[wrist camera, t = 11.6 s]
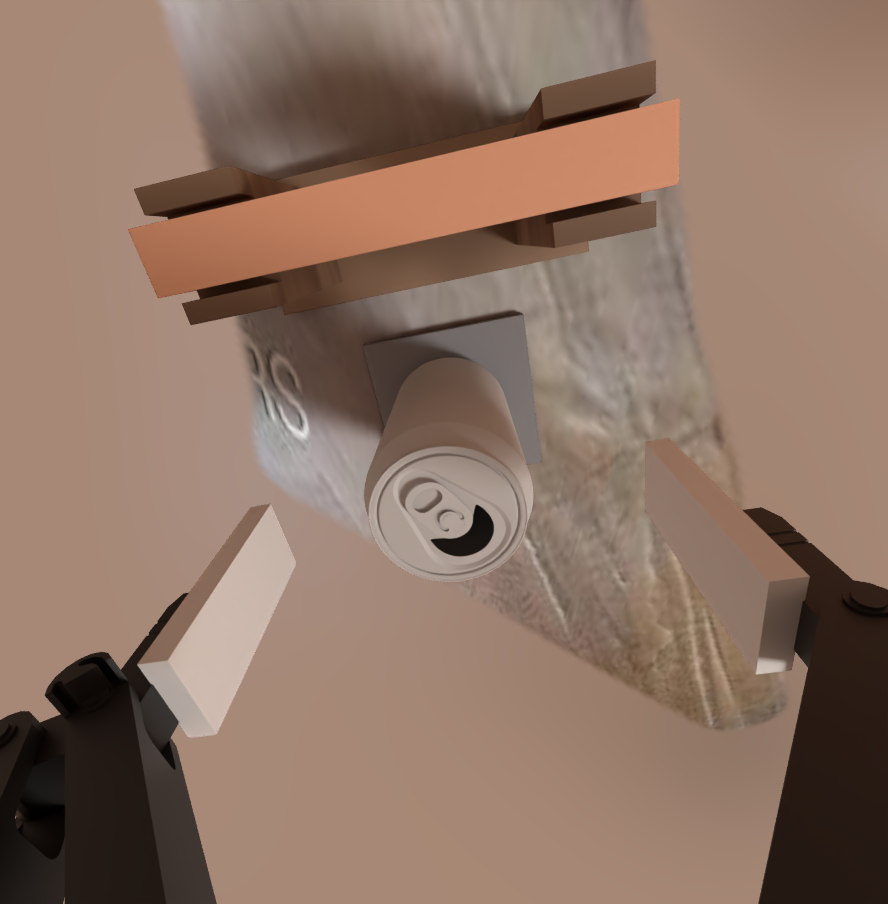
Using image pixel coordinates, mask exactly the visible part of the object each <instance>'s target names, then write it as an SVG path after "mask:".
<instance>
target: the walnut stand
mask: <svg viewBox="0 0 888 904" xmlns="http://www.w3.org/2000/svg"><path fill="white" fill-rule="evenodd" d="M654 93H656V60H655V61H651V62H646V63H642V64H638V65H634V66H630V67H626V68H622V69H618V70H614V71H610V72H606V73H602V74H598V75H594V76H590V77H586V78H582V79H578V80H574V81H570V82H565V83H561V84H557V85H553V86H549V87H545V88H541V90H540V91H539V93H538V95H537V96H536V98H535V100H534V102H533V103H532V105H531V107H530V109H529V110H528V112H527V114H526V116H525V117H524V119H523V121H519V122H515V123H511V124H507V125H502V126H498V127H494V128H490V129H486V130H482V131H478V132H473V133H469V134H465V135H461V136H457V137H453V138H448V139H444V140H440V141H436V142H432V143H428V144H424V145H419V146H415V147H411V148H407V149H403V150H399V151H394V152H390V153H386V154H382V155H378V156H374V157H370V158H365V159H361V160H357V161H353V162H349V163H345V164H340V165H336V166H332V167H328V168H324V169H320V170H316V171H311V172H307V173H303V174H299V175H295V176H291V177H286V178H282V179H278V180H271V179H268V178H265V177H262V176H259V175H256V174H253V173H250V172H247V171H244V170H241V169H238V168H234V167H231V166H225V167H221V168H217V169H213V170H209V171H205V172H201V173H197V174H193V175H189V176H185V177H181V178H177V179H172V180H169V181H164V182H160V183H156V184H152V185H149V186H144V187H140V188H136V189H134V191H135V193H136V195H137V198H138V200H139V202H140V205H141V207H142V209H143V212H144V215H149V216H162V217H168V220H170V219H174V218H178V217H182V216H187V215H191V214H195V213H199V212H204V211H208V210H212V209H216V208H220V207H225V206H229V205H233V204H237V203H241V202H246V201H250V200H254V199H258V198H262V197H267V196H271V195H275V194H279V193H284V192H288V191H292V190H296V189H300V188H305V187H309V186H313V185H317V184H321V183H326V182H330V181H334V180H338V179H342V178H347V177H351V176H355V175H359V174H364V173H368V172H372V171H376V170H380V169H385V168H389V167H393V166H397V165H401V164H406V163H410V162H414V161H418V160H422V159H427V158H431V157H435V156H439V155H444V154H448V153H452V152H456V151H460V150H465V149H469V148H473V147H477V146H481V145H486V144H490V143H494V142H498V141H502V140H507V139H511V138H515V137H519V136H523V135H528V134H532V133H536V132H540V131H545V130H549V129H553V128H557V127H561V126H566V125H570V124H574V123H578V122H582V121H587V120H591V119H595V118H599V117H603V116H608V115H612V114H616V113H620V112H625V111H629V110H633V109H637V108H639V104H641V103H642V102H643V101H645V100H646V99H648V98H649V97H650V96H652V95H653V94H654ZM653 227H656V201H651V202H646V203H641V193H638V194H633V195H629V196H624V197H619V198H615V199H610V200H606V201H601V202H597V203H592V204H588V205H583V206H578V207H574V208H569V209H565V210H560V211H556V212H551V213H546V214H542V215H537V216H533V217H528V218H524V219H519V220H515V221H510V222H505V223H501V224H496V225H492V226H487V227H483V228H478V229H474V230H469V231H464V232H460V233H455V234H451V235H446V236H442V237H437V238H433V239H428V240H423V241H419V242H414V243H410V244H405V245H401V246H396V247H392V248H387V249H382V250H378V251H373V252H369V253H364V254H360V255H355V256H350V257H346V258H341V259H337V260H332V261H328V262H323V263H319V264H314V265H309V266H305V267H300V268H296V269H291V270H287V271H282V272H278V273H273V274H268V275H264V276H259V277H255V278H250V279H246V280H241V281H237V282H232V283H227V284H223V285H218V286H214V287H209V288H205V289H200V290H197V292H198V295H199V297H200V299H199V300H195V301H190V302H186V303H182V305H183V307H184V310H185V312H186V315H187V317H188V320H189V322H190V324H191V325H194V324H199V323H203V322H208V321H212V320H218V319H222V318H227V317H232V316H237V315H241V314H246V313H251V312H256V311H260V310H265V309H270V308H274V307H278V306H281V305H282V308H283V311H284V314H285V315H287V314H292V313H297V312H301V311H306V310H311V309H316V308H320V307H325V306H330V305H335V304H340V303H344V302H349V301H354V300H359V299H363V298H368V297H373V296H378V295H383V294H387V293H392V292H397V291H402V290H406V289H411V288H416V287H421V286H426V285H430V284H435V283H440V282H445V281H449V280H454V279H459V278H464V277H469V276H473V275H478V274H483V273H488V272H492V271H497V270H502V269H507V268H512V267H516V266H521V265H526V264H531V263H536V262H540V261H545V260H550V259H555V258H559V257H564V256H569V255H574V254H579V253H583V252H588V251H589V246H588V241H591V240H596V239H601V238H605V237H610V236H615V235H620V234H624V233H629V232H634V231H639V230H643V229H648V228H653Z"/></svg>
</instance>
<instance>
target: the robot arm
mask: <svg viewBox="0 0 888 904" xmlns="http://www.w3.org/2000/svg"><path fill="white" fill-rule="evenodd" d="M645 511H646V513H647V514H648V516H649V517H650V519H651V520H652V522H653V523H654V524H655V526H656V527H657V529H658V530H659V532H660V533H661V535H662V536H663V538H664V539H665V541H666V542H667V544H668V545H669V547H670V548H671V550H672V551H673V553H674V554H675V556H676V557H677V558H678V560H679V561H680V563H681V564H682V566H683V567H684V569H685V570H686V572H687V573H688V575H689V576H690V578H691V579H692V581H693V582H694V584H695V585H696V587H697V588H698V590H699V591H700V593H701V594H702V595H703V597H704V598H705V600H706V601H707V603H708V604H709V606H710V607H711V609H712V610H713V612H714V613H715V615H716V616H717V618H718V619H719V621H720V622H721V624H722V625H723V627H724V628H725V630H726V631H727V632H728V634H729V635H730V637H731V638H732V640H733V641H734V643H735V644H736V646H737V647H738V649H739V650H740V652H741V653H742V655H743V656H744V658H745V659H746V661H747V662H748V664H749V665H750V666H751V668H752V669H753V671H754V672H755V674H763V673H772V672H781V671H790V670H792V666H793V661H794V655H795V652H796V653H797V654H798V655H799V657H800V658H801V659H802V660H803V662H804V663H805V664H806V665H807V667H808V672H807V676H806V681H805V686H804V690H803V695H802V700H801V705H800V709H799V714H798V719H797V724H796V728H795V733H794V738H793V742H792V747H791V752H790V756H789V761H788V766H787V771H786V775H785V780H784V785H783V790H782V794H781V799H780V804H779V809H778V813H777V818H776V823H775V827H774V832H773V837H772V842H771V846H770V851H769V856H768V860H767V865H766V870H765V874H764V879H763V884H762V889H761V894H760V898H759V904H888V590H887V589H885V588H882V587H879V586H876V585H873V584H870V583H866V582H860V581H854V580H852V579H851V578H850V577H849V576H848V575H847V574H845V573H844V572H843V571H842V570H841V569H840V568H839V567H838V566H836V565H835V564H834V563H833V562H832V561H831V560H830V559H829V558H827V557H826V556H825V555H824V554H823V553H822V552H820V551H819V550H818V549H817V548H816V547H815V546H814V545H812V543H808V540H807V539H806V538H805V537H804V536H802V535H801V534H800V533H799V532H798V533H797V532H796V529H795V528H793V527H792V526H791V525H790V524H789V523H788V522H787V521H786V520H784V519H783V518H782V517H780V516H778V515H776V514H774V513H772V512H770V511H768V510H766V509H764V508H754V509H747V510H742V509H741V508H740V507H739V506H737V505H736V504H735V503H734V502H733V501H732V500H731V499H730V498H729V497H728V496H727V495H726V494H725V493H724V492H723V491H722V490H721V489H720V488H719V487H718V486H717V485H716V484H715V483H714V482H713V481H712V480H711V479H710V478H709V477H708V476H707V475H706V474H705V473H704V472H703V471H702V470H701V469H700V468H699V467H698V466H697V465H696V464H695V463H694V462H693V461H692V460H691V459H690V458H689V457H688V456H686V455H685V454H684V453H683V452H682V451H681V450H680V449H679V448H678V447H677V446H676V445H675V444H674V443H673V442H672V441H671V440H670V439H669V438H667V439H661V440H655V441H649V442H645ZM295 565H296V562H295V559H294V557H293V555H292V552H291V550H290V547H289V545H288V543H287V541H286V538H285V536H284V534H283V531H282V529H281V526H280V524H279V522H278V520H277V518H276V515H275V512H274V510H273V508H272V506H271V504H267V505H261V506H255V507H251V508H250V509H249V511H248V512H247V513H246V515H245V516H244V517H243V519H242V520H241V522H240V523H239V524H238V526H237V527H236V529H235V530H234V531H233V533H232V534H231V535H230V537H229V538H228V539H227V541H226V542H225V544H224V545H223V546H222V548H221V549H220V551H219V552H218V554H217V555H216V556H215V557H214V559H213V560H212V562H211V563H210V564H209V566H208V567H207V569H206V570H205V571H204V573H203V574H202V576H201V577H200V578H199V580H198V581H197V582H196V584H195V585H194V586H193V588H192V589H191V591H190V592H189V593H185V594H183V595H181V596H180V597H179V598H178V599H177V600H176V601H175V602H173V603H172V604H171V605H170V606H169V607H168V608H167V609H166V611H165V612H164V613H163V615H162V616H161V617H160V619H159V620H158V623H157V624H155V625H154V627H153V628H152V629H151V631H150V632H149V636H146V637H145V639H144V640H143V641H142V643H141V644H140V645H139V647H138V648H137V649H136V651H135V652H134V653H133V655H132V656H131V657H130V659H129V660H128V661H127V663H126V664H125V665H124V667H123V668H122V669H121V670H120V668H119V667H118V666H117V665H116V663H115V662H114V660H113V659H112V658H111V656H110V655H109V654H108V653H105V652H99V653H94V654H90V655H88V656H85V657H83V658H81V659H79V660H77V661H76V662H74V663H73V664H71V665H70V666H68V667H66V668H65V669H64V670H63V671H62V672H61V673H60V674H58V675H57V676H56V677H55V678H54V680H53V681H52V682H51V684H50V685H49V686H48V688H47V690H46V693H45V696H46V698H48V700H49V701H50V702H51V703H52V704H53V705H54V707H55V708H56V709H57V710H58V711H59V712H60V713H61V715H58V716H56V717H53V718H50V719H48V720H46V721H43V722H40V723H39V721H38V720H37V719H36V718H35V717H34V716H33V715H32V714H31V713H30V712H29V711H26V712H25V711H20V712H18V713H14V714H11V715H9V716H7V717H5V718H3V719H2V720H0V904H63V901H64V897H65V904H217V903H216V899H215V896H214V892H213V888H212V884H211V880H210V876H209V872H208V868H207V864H206V860H205V856H204V853H203V849H202V845H201V841H200V837H199V833H198V829H197V825H196V821H195V817H194V813H193V809H192V805H191V801H190V798H189V794H188V790H187V786H186V783H185V778H184V774H183V771H182V766H181V763H180V758H179V755H178V751H177V747H176V745H175V743H174V742H173V741H172V739H171V736H172V734H173V732H174V730H175V728H176V727H177V725H178V723H179V725H180V726H181V727H182V729H183V730H184V732H185V733H186V735H187V736H188V737H189V738H191V737H200V736H209V735H216V734H217V732H218V730H219V728H220V726H221V724H222V721H223V720H224V717H225V715H226V713H227V711H228V709H229V707H230V705H231V702H232V700H233V698H234V696H235V693H236V691H237V690H238V687H239V685H240V683H241V681H242V679H243V677H244V675H245V672H246V670H247V668H248V666H249V664H250V662H251V659H252V657H253V655H254V653H255V651H256V649H257V647H258V644H259V642H260V640H261V638H262V636H263V634H264V632H265V630H266V627H267V625H268V623H269V621H270V619H271V616H272V614H273V612H274V610H275V608H276V606H277V604H278V601H279V600H280V597H281V595H282V593H283V591H284V589H285V587H286V585H287V582H288V580H289V578H290V576H291V574H292V572H293V570H294V567H295ZM15 816H16V819H15Z"/></svg>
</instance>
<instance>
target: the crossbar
mask: <svg viewBox="0 0 888 904" xmlns="http://www.w3.org/2000/svg"><path fill="white" fill-rule="evenodd" d="M679 115H680V99H675V100H671V101H667V102H662V103H658V104H654V105H650V106H646V107H641V108H637V109H633V110H629V111H625V112H620V113H616V114H612V115H608V116H603V117H599V118H595V119H591V120H587V121H582V122H578V123H574V124H570V125H566V126H561V127H557V128H553V129H549V130H545V131H540V132H536V133H532V134H528V135H523V136H519V137H515V138H511V139H507V140H502V141H498V142H494V143H490V144H486V145H481V146H477V147H473V148H469V149H465V150H460V151H456V152H452V153H448V154H444V155H439V156H435V157H431V158H427V159H422V160H418V161H414V162H410V163H406V164H401V165H397V166H393V167H389V168H385V169H380V170H376V171H372V172H368V173H364V174H359V175H355V176H351V177H347V178H342V179H338V180H334V181H330V182H326V183H321V184H317V185H313V186H309V187H305V188H300V189H296V190H292V191H288V192H284V193H279V194H275V195H271V196H267V197H262V198H258V199H254V200H250V201H246V202H241V203H237V204H233V205H229V206H225V207H220V208H216V209H212V210H208V211H204V212H199V213H195V214H191V215H187V216H182V217H178V218H174V219H170V220H166V221H161V222H157V223H153V224H149V225H145V226H140V227H136V228H132V229H128V230H129V233H130V235H131V237H132V240H133V242H134V244H135V247H136V249H137V251H138V253H139V256H140V258H141V260H142V263H143V265H144V267H145V269H146V272H147V274H148V276H149V279H150V281H151V283H152V286H153V288H154V290H155V292H156V295H157V297H158V298H161V297H167V296H171V295H176V294H182V293H186V292H191V291H195V290H200V289H205V288H209V287H214V286H218V285H223V284H227V283H232V282H237V281H241V280H246V279H250V278H255V277H259V276H264V275H268V274H273V273H278V272H282V271H287V270H291V269H296V268H300V267H305V266H309V265H314V264H319V263H323V262H328V261H332V260H337V259H341V258H346V257H350V256H355V255H360V254H364V253H369V252H373V251H378V250H382V249H387V248H392V247H396V246H401V245H405V244H410V243H414V242H419V241H423V240H428V239H433V238H437V237H442V236H446V235H451V234H455V233H460V232H464V231H469V230H474V229H478V228H483V227H487V226H492V225H496V224H501V223H505V222H510V221H515V220H519V219H524V218H528V217H533V216H537V215H542V214H546V213H551V212H556V211H560V210H565V209H569V208H574V207H578V206H583V205H588V204H592V203H597V202H601V201H606V200H610V199H615V198H619V197H624V196H629V195H633V194H638V193H642V192H647V191H651V190H656V189H660V188H664V187H668V186H672V185H676V184H679Z"/></svg>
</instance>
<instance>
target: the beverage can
mask: <svg viewBox="0 0 888 904" xmlns="http://www.w3.org/2000/svg"><path fill="white" fill-rule="evenodd" d="M364 499H365V506H366V511H367V514H368V517H369V524H370V528H371V532H372V534H373V537H374V539H375V541H376V543H377V545H378V546H379V548H380V549H381V550H382V552H383V553H384V554H385V555H386V556H387V557H388V558H389V559H390V560H391V561H392V562H393V563H394V564H396V565H397V566H399V567H400V568H402V569H403V570H405V571H407V572H409V573H411V574H413V575H416V576H418V577H422V578H425V579H429V580H434V581H442V582H455V581H462V580H468V579H473V578H477V577H480V576H482V575H485V574H487V573H489V572H491V571H493V570H495V569H496V568H498V567H499V566H501V565H502V564H503V563H504V562H506V561H507V560H508V559H509V558H510V557H511V556H512V555H513V553H514V552H515V551H516V550H517V548H518V547H519V545H520V543H521V541H522V539H523V537H524V534H525V531H526V528H527V522H528V520H529V517H530V514H531V511H532V505H533V486H532V481H531V477H530V474H529V471H528V467H527V464H526V461H525V458H524V455H523V452H522V448H521V445H520V442H519V439H518V436H517V433H516V430H515V426H514V423H513V420H512V417H511V414H510V411H509V408H508V404H507V401H506V398H505V395H504V392H503V390H502V388H501V386H500V384H499V383H498V381H497V380H496V378H495V377H494V376H493V375H492V374H491V373H490V372H489V371H488V370H486V369H485V368H484V367H482V366H480V365H479V364H477V363H475V362H472V361H469V360H466V359H462V358H440V359H436V360H432V361H430V362H427V363H425V364H423V365H421V366H420V367H418V368H417V369H416V370H414V371H413V372H412V373H411V374H410V375H409V376H408V377H407V378H406V380H405V381H404V383H403V384H402V386H401V388H400V390H399V393H398V395H397V398H396V400H395V403H394V406H393V408H392V411H391V414H390V416H389V419H388V421H387V424H386V427H385V429H384V432H383V435H382V437H381V440H380V442H379V445H378V448H377V450H376V453H375V456H374V458H373V461H372V463H371V466H370V469H369V471H368V474H367V478H366V482H365V490H364Z"/></svg>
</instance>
